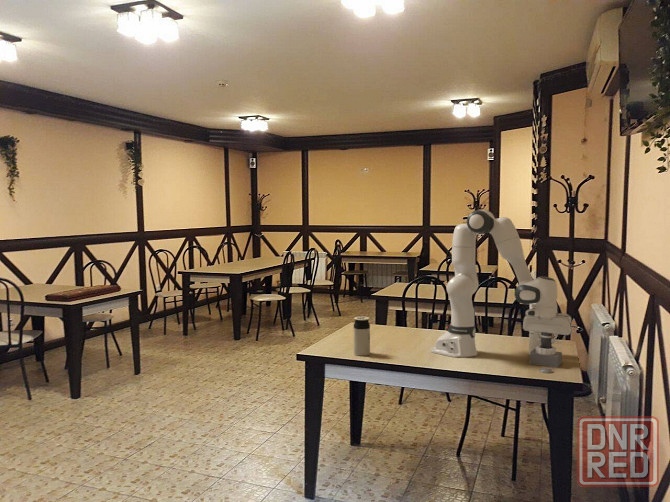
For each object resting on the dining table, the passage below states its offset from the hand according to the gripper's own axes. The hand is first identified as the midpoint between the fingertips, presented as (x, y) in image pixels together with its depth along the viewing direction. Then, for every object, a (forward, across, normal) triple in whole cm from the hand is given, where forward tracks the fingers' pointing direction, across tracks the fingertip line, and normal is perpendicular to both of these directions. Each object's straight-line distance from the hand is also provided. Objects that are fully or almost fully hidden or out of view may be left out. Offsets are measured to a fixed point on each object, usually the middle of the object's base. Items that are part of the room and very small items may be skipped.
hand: (546, 342), depth 233 cm
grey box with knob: (+10, 0, 0) cm, 10 cm away
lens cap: (+10, -3, +13) cm, 17 cm away
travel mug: (+9, +79, +32) cm, 86 cm away
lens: (+2, 0, 0) cm, 2 cm away
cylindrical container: (+10, +7, -13) cm, 18 cm away
